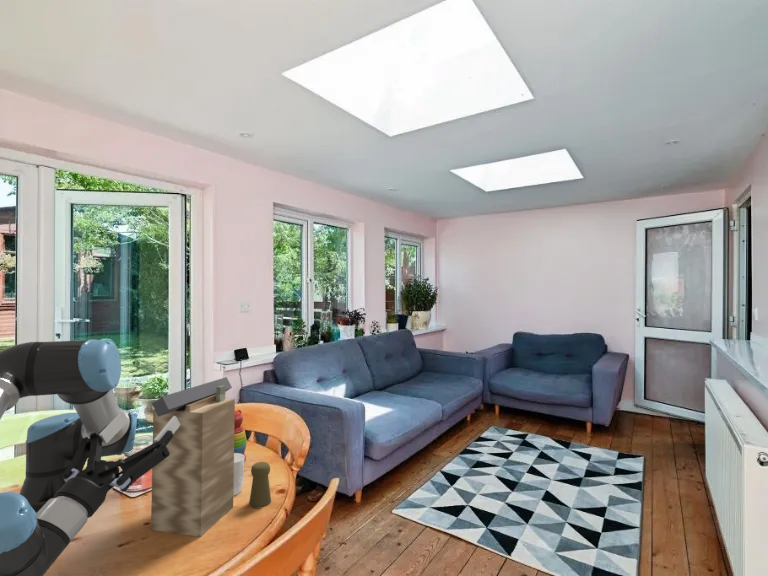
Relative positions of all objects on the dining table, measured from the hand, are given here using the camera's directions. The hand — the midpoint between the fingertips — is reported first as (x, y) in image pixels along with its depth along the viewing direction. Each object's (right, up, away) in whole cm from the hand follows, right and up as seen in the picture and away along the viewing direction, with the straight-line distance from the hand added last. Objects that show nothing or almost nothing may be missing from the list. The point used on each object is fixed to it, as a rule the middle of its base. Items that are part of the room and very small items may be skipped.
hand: (150, 418), depth 91 cm
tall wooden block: (+2, -31, +16) cm, 35 cm away
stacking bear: (-1, -32, +52) cm, 61 cm away
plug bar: (+4, -1, +16) cm, 16 cm away
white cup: (+6, -32, +30) cm, 44 cm away
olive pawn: (+17, -32, +24) cm, 43 cm away
